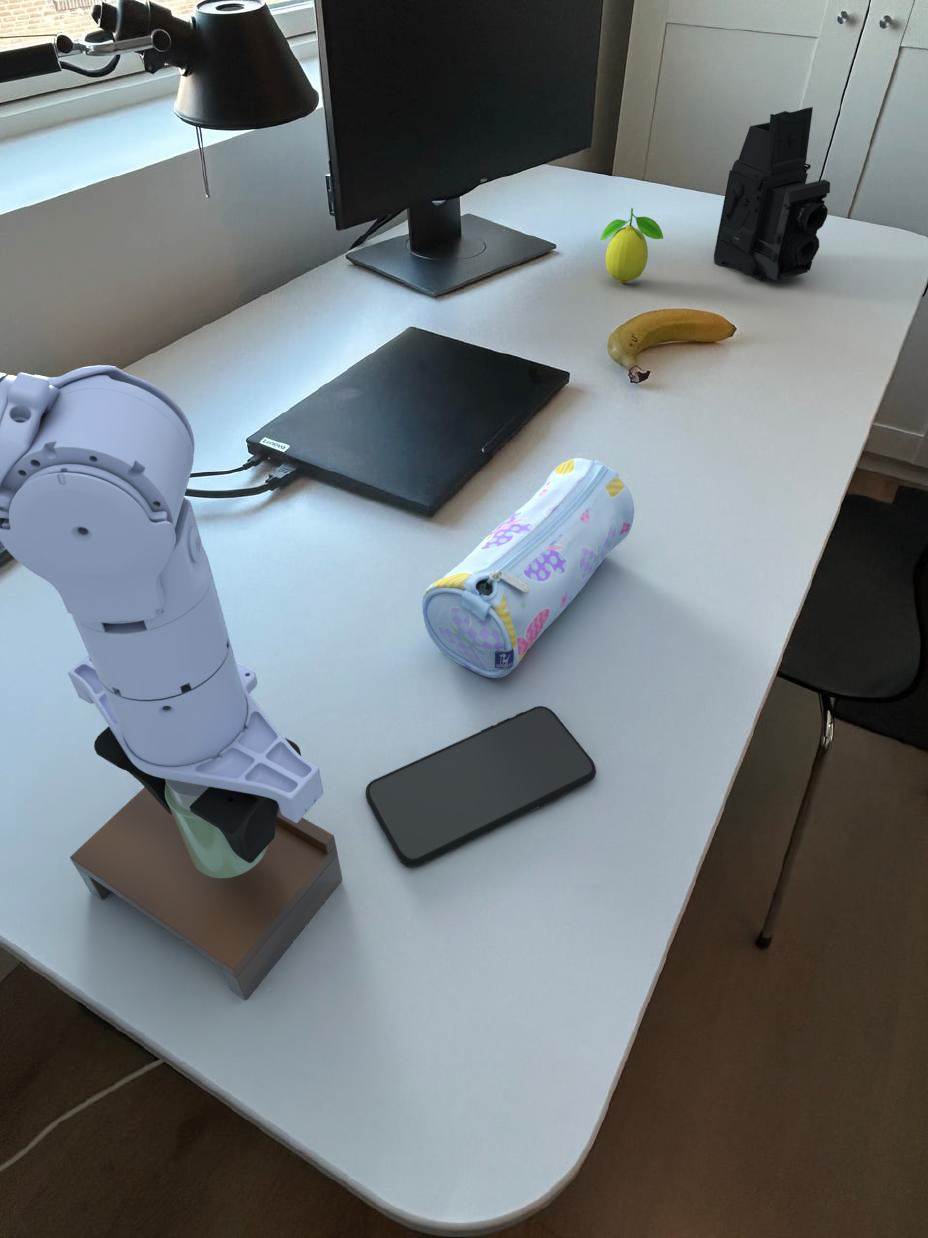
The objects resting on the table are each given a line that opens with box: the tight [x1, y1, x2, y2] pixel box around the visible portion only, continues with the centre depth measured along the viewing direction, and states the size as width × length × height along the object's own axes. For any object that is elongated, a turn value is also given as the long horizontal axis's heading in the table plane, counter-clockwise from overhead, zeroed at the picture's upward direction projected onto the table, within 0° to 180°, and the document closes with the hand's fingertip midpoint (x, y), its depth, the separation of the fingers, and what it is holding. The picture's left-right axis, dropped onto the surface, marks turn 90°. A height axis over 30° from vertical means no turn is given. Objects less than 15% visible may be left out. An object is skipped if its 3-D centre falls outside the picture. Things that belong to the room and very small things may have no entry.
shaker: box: [165, 779, 268, 878], centre depth 47 cm, size 4×4×7 cm
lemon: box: [599, 207, 664, 285], centre depth 117 cm, size 7×6×10 cm
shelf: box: [69, 786, 343, 1001], centre depth 53 cm, size 9×13×5 cm
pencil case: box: [421, 457, 635, 679], centre depth 71 cm, size 21×9×10 cm, turn 145°
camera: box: [713, 106, 831, 282], centre depth 116 cm, size 10×14×20 cm
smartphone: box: [365, 705, 597, 868], centre depth 60 cm, size 7×1×15 cm
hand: (224, 826), depth 48 cm, fingers closed on shaker, 4 cm apart
